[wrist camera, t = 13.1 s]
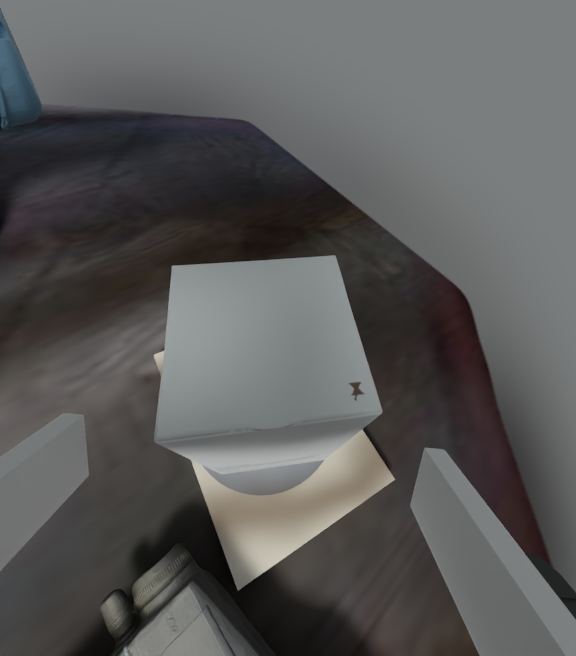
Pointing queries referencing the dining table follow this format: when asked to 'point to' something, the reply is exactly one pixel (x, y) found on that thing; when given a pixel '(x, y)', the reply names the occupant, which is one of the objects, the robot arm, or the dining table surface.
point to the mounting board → (286, 502)
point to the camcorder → (179, 614)
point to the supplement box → (261, 365)
